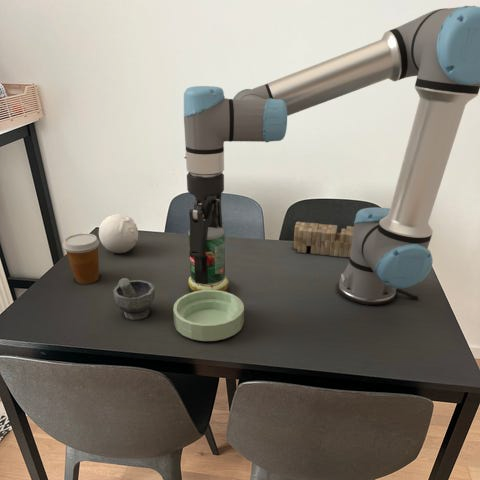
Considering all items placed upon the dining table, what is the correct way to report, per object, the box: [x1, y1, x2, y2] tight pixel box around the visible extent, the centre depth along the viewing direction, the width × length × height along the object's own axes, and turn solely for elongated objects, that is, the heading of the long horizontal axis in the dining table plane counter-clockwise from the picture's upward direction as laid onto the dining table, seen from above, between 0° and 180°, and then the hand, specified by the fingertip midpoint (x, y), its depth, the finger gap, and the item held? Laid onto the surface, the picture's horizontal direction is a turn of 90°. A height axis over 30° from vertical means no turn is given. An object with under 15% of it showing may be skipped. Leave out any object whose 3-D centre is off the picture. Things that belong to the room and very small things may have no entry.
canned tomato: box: [187, 226, 226, 285], centre depth 103 cm, size 8×8×11 cm
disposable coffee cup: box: [62, 232, 100, 285], centre depth 129 cm, size 10×10×12 cm
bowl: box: [172, 290, 245, 342], centre depth 111 cm, size 17×17×5 cm
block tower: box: [293, 221, 354, 259], centre depth 148 cm, size 8×8×29 cm
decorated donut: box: [188, 275, 230, 292], centre depth 127 cm, size 10×11×4 cm
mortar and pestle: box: [112, 277, 156, 321], centre depth 113 cm, size 11×9×12 cm
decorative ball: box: [98, 213, 139, 254], centre depth 146 cm, size 12×12×12 cm
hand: (207, 274), depth 106 cm, fingers closed on canned tomato, 8 cm apart
